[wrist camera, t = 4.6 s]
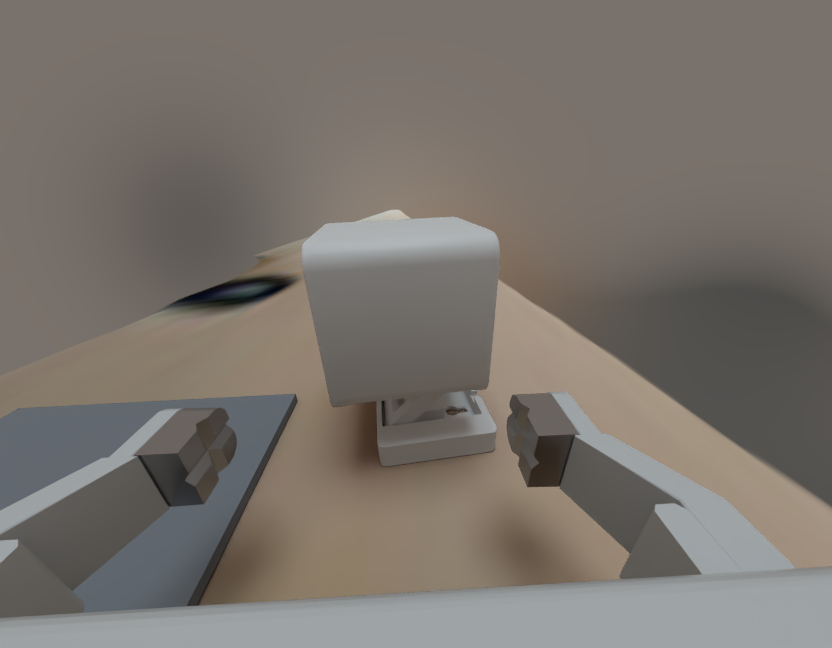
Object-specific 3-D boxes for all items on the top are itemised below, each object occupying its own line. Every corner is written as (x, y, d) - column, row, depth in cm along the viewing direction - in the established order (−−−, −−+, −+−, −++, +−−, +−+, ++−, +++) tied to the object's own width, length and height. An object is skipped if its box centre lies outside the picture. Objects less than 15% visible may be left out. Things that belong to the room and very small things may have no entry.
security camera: (353, 389, 18) (326, 221, 14) (462, 377, 19) (468, 214, 15) (345, 481, 13) (295, 246, 8) (500, 458, 13) (529, 232, 9)
